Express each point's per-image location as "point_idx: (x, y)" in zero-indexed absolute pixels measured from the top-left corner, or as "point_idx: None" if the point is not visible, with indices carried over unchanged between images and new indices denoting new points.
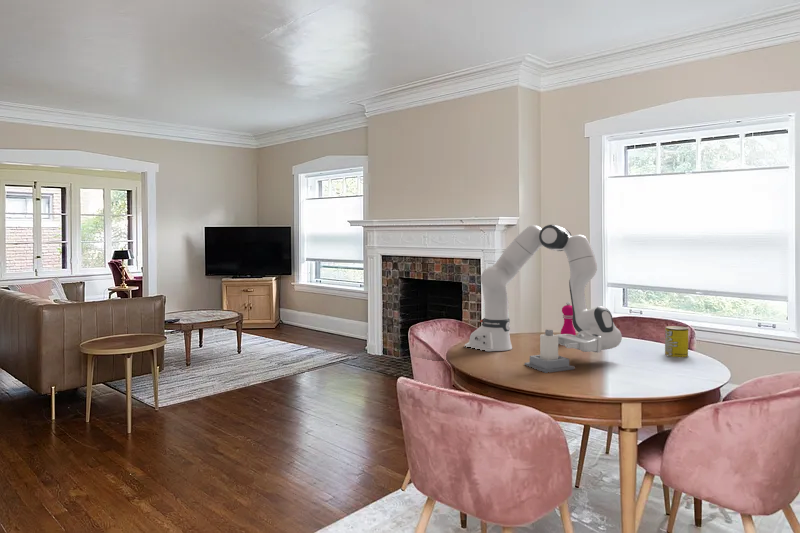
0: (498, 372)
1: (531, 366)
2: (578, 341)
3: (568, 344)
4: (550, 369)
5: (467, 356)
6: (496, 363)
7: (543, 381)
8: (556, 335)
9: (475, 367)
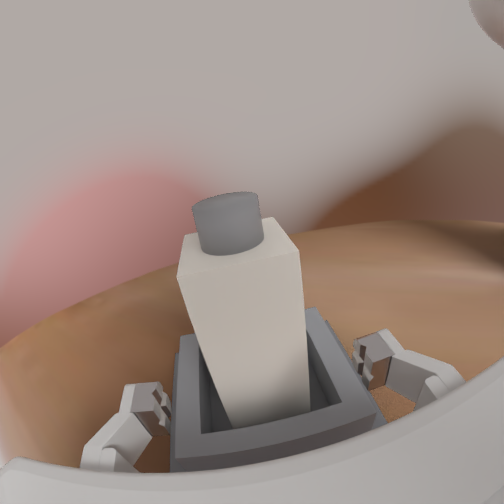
0: None
1: None
2: (81, 468)
3: (125, 387)
4: (177, 373)
5: (434, 233)
6: (359, 270)
7: (108, 325)
8: (194, 270)
9: (311, 241)
